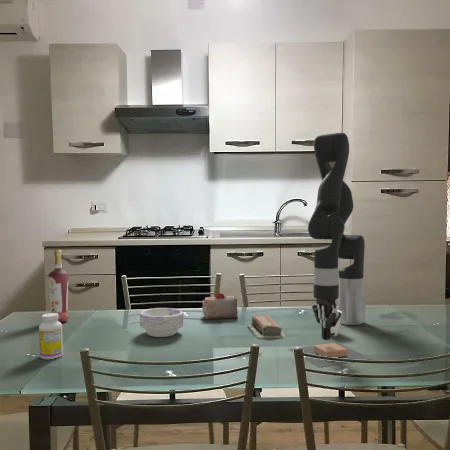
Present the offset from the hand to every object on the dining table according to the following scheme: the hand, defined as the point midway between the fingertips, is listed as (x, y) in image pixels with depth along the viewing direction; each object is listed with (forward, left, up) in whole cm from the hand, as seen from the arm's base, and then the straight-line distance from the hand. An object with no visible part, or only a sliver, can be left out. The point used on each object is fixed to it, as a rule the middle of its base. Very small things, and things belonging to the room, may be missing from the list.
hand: (326, 339), depth 150 cm
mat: (0, +1, -5) cm, 5 cm away
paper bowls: (+41, -42, -5) cm, 58 cm away
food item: (+14, -56, -5) cm, 58 cm away
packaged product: (+6, -29, -5) cm, 30 cm away
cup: (-13, -17, -5) cm, 22 cm away
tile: (0, -2, -3) cm, 3 cm away
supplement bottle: (+78, -30, -5) cm, 83 cm away
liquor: (+74, -74, -5) cm, 104 cm away
